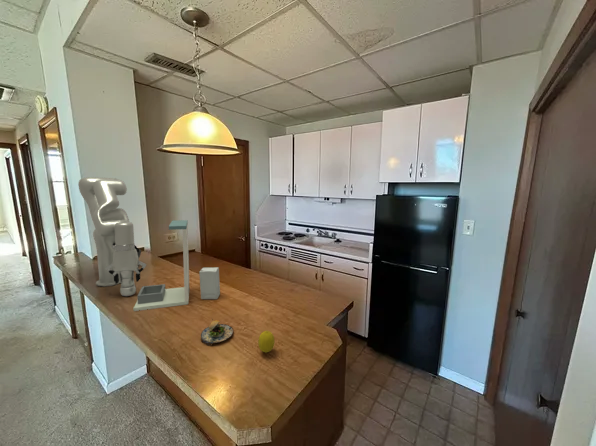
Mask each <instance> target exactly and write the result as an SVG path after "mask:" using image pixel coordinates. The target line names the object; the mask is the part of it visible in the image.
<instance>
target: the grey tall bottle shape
mask: <svg viewBox="0 0 596 446" xmlns="http://www.w3.org/2000/svg"><path fill="white" fill-rule="evenodd" d="M134 272H135V271H128V268H127V266H126V267H123V268H122V271H121V272H120V278H121V283H120V289H119V292H120V295H121V296H123V297H129V296H133V295H135V294H136V292H137V286H136V284H135V278H134V277H135V276H134V275H135V273H134Z"/></svg>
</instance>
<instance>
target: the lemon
mask: <svg viewBox="0 0 596 446" xmlns="http://www.w3.org/2000/svg"><path fill="white" fill-rule="evenodd" d="M257 340H258V342H257V344H258V348H259V350H260V351H261V352H263V353H265V354H266V353H270V352H271V351H272V350H273V349H274V347H275V336H274V334H273V333H272V332H271V331H269V330H264V331H262V332H261V333H260V335H259V337H258V339H257Z"/></svg>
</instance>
